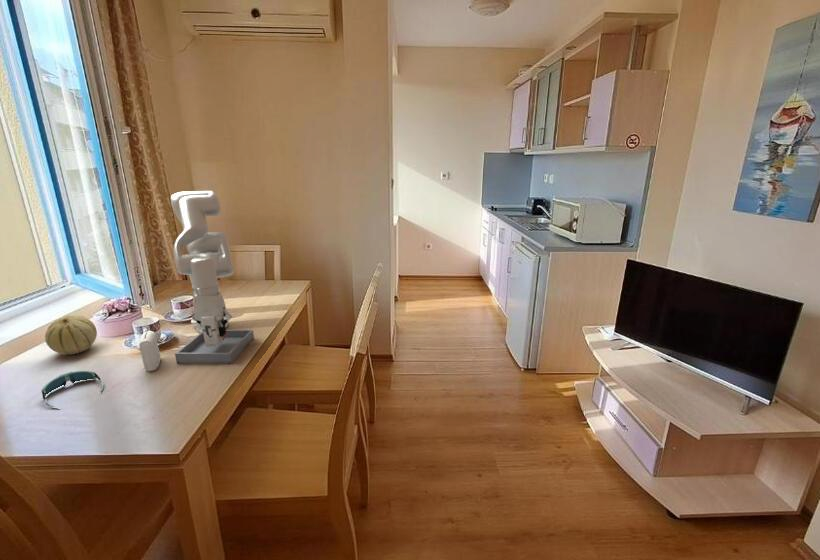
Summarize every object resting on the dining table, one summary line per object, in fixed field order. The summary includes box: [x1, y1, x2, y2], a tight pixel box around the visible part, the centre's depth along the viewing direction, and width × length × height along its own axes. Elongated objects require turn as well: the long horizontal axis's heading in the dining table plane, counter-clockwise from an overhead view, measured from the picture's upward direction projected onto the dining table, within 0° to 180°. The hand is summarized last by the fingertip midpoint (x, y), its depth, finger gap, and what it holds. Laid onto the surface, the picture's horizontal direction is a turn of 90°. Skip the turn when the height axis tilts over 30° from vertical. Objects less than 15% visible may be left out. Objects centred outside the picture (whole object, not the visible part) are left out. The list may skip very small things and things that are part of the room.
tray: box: [174, 329, 255, 365], centre depth 147 cm, size 20×20×4 cm
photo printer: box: [138, 330, 162, 372], centre depth 136 cm, size 10×4×12 cm, turn 26°
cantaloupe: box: [44, 314, 98, 355], centre depth 145 cm, size 15×15×15 cm
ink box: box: [200, 316, 226, 347], centre depth 145 cm, size 9×5×12 cm, turn 5°
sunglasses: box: [41, 369, 105, 408], centre depth 121 cm, size 14×15×5 cm
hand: (215, 334), depth 146 cm, fingers closed on ink box, 5 cm apart
